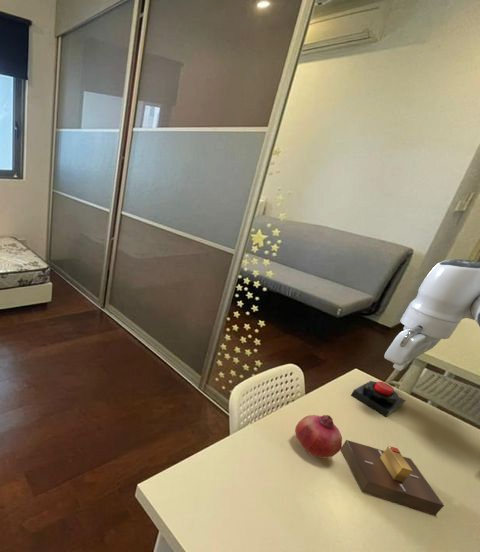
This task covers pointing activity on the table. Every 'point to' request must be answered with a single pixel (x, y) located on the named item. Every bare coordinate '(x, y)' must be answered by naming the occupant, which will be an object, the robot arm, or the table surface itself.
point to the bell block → (377, 399)
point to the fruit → (319, 435)
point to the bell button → (384, 388)
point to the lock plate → (389, 479)
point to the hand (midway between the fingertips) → (398, 368)
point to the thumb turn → (396, 464)
